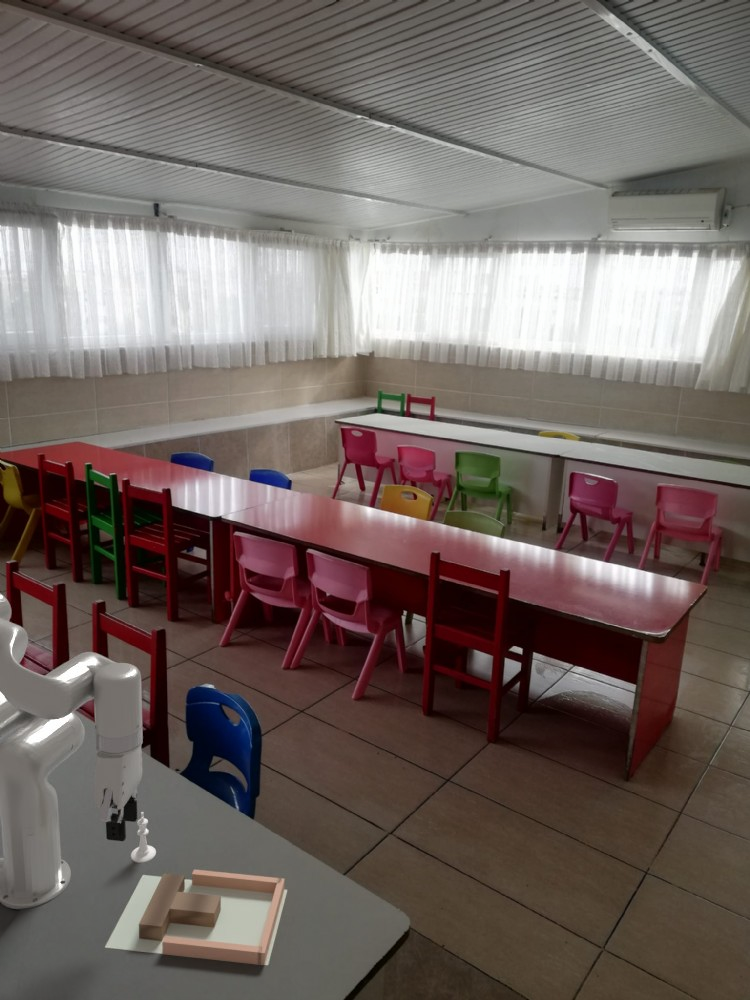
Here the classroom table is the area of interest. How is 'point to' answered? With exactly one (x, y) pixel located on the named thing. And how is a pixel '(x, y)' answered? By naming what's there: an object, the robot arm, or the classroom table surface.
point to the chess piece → (143, 843)
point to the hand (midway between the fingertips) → (122, 828)
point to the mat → (234, 925)
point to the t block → (177, 908)
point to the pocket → (228, 949)
